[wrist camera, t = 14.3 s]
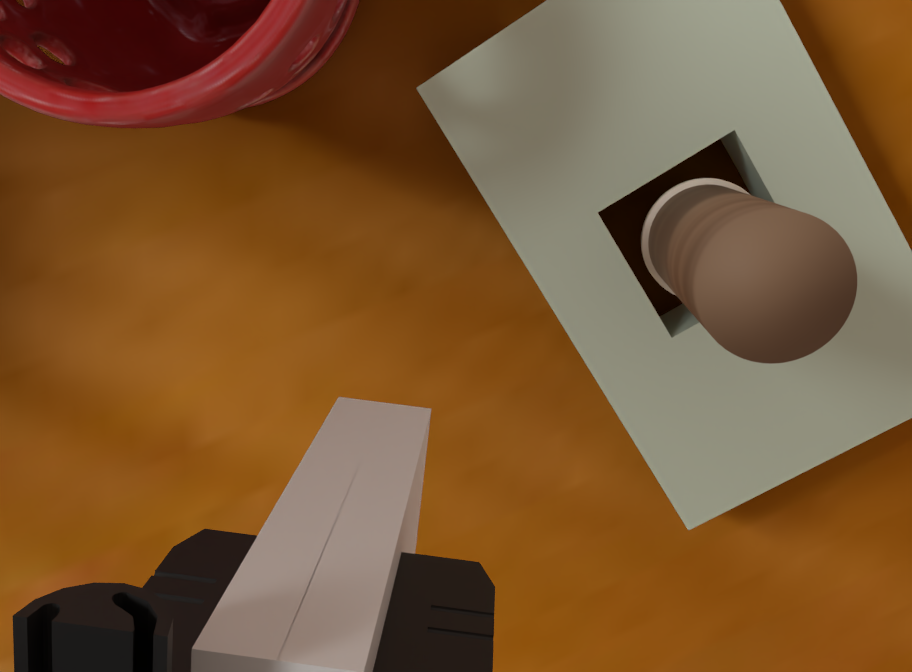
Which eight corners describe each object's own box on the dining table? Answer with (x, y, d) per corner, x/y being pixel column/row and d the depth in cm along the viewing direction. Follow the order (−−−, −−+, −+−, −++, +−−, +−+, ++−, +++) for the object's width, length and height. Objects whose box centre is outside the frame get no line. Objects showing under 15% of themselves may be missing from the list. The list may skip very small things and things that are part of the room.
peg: (609, 210, 34) (657, 261, 22) (707, 150, 34) (815, 167, 21) (663, 301, 35) (739, 400, 23) (760, 244, 34) (895, 315, 22)
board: (427, 91, 34) (415, 88, 31) (699, -91, 32) (718, -116, 28) (674, 493, 37) (688, 530, 34) (937, 357, 35) (981, 383, 31)
